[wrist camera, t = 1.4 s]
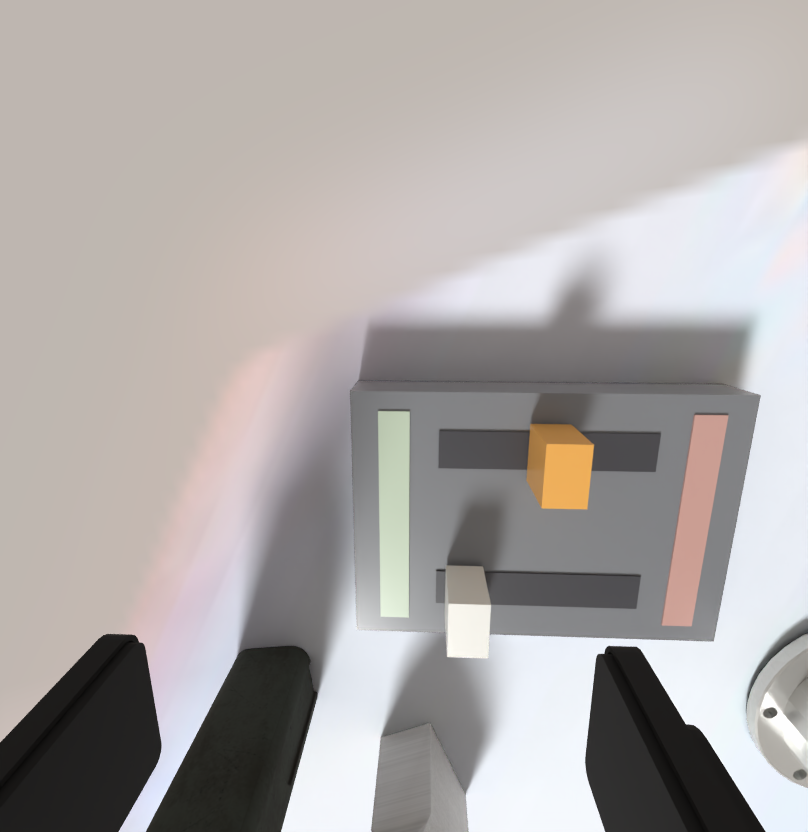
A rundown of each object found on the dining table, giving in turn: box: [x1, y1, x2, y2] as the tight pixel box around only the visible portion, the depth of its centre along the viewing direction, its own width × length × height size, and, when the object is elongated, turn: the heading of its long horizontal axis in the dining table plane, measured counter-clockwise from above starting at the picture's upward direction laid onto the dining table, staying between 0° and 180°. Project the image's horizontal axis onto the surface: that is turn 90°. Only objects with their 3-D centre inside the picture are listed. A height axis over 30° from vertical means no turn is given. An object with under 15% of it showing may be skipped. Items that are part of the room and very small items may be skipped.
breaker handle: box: [526, 424, 594, 509], centre depth 22 cm, size 2×3×3 cm, turn 0°
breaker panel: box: [350, 381, 761, 658], centre depth 25 cm, size 20×14×7 cm
